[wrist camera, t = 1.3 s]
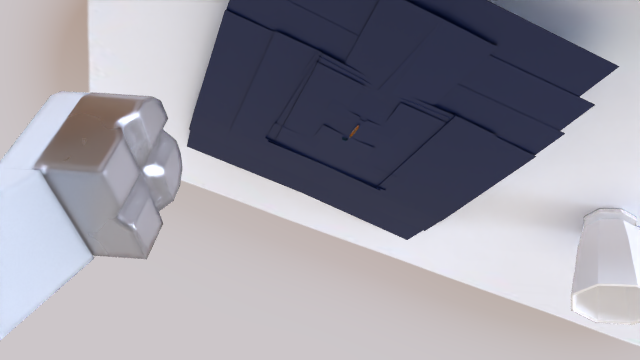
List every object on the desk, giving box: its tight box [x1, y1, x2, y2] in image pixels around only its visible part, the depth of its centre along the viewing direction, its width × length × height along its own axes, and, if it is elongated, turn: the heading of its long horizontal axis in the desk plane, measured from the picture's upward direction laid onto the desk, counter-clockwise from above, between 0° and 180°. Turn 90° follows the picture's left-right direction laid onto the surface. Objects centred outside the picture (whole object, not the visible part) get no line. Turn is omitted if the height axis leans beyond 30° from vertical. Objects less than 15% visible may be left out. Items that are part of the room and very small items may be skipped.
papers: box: [187, 0, 619, 240], centre depth 46 cm, size 24×30×4 cm
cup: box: [571, 209, 640, 325], centre depth 49 cm, size 7×10×8 cm
